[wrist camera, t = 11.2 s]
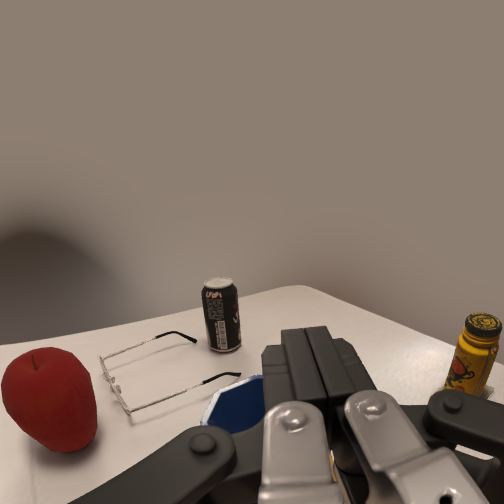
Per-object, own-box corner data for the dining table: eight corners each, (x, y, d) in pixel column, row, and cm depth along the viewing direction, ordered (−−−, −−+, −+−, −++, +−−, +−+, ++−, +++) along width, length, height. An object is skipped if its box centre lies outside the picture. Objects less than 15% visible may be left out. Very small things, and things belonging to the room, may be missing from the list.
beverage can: (230, 334, 54) (224, 273, 51) (248, 347, 50) (243, 281, 47) (203, 344, 51) (194, 280, 48) (219, 358, 47) (210, 290, 44)
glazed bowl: (346, 467, 24) (360, 415, 22) (255, 525, 18) (249, 485, 16) (281, 415, 33) (281, 362, 31) (199, 453, 27) (184, 401, 25)
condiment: (429, 398, 31) (451, 320, 28) (458, 371, 35) (477, 300, 32) (468, 421, 25) (501, 341, 22) (493, 390, 28) (520, 316, 25)
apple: (88, 399, 35) (58, 319, 32) (132, 442, 28) (95, 353, 25) (24, 431, 26) (-19, 349, 22) (55, 487, 19) (-7, 399, 15)
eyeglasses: (98, 372, 42) (89, 346, 40) (193, 339, 53) (189, 315, 52) (129, 433, 30) (117, 405, 28) (248, 380, 41) (245, 352, 40)
